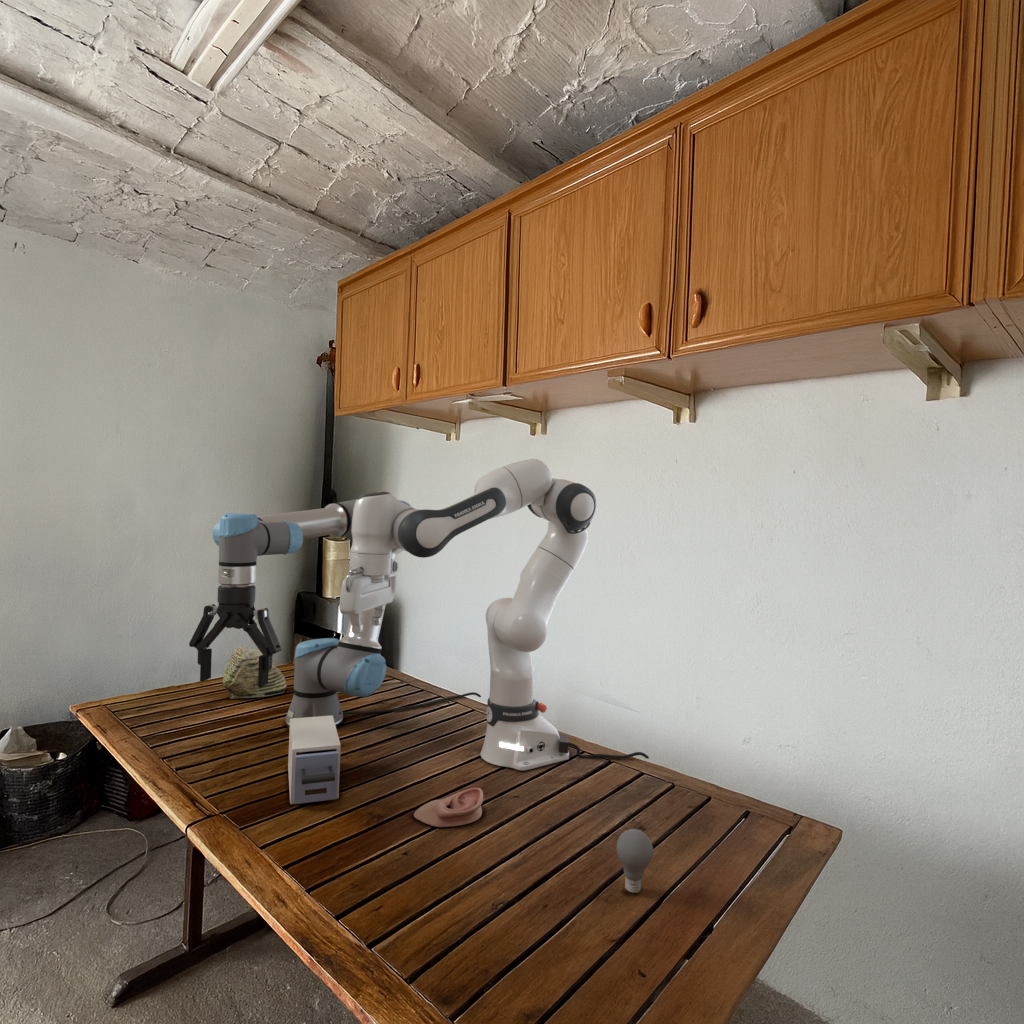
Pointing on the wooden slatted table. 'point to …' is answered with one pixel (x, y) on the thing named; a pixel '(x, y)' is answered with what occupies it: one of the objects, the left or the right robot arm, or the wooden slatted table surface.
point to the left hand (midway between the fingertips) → (234, 682)
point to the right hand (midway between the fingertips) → (367, 628)
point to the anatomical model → (452, 809)
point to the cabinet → (311, 742)
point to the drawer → (315, 776)
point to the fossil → (250, 675)
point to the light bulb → (634, 857)
